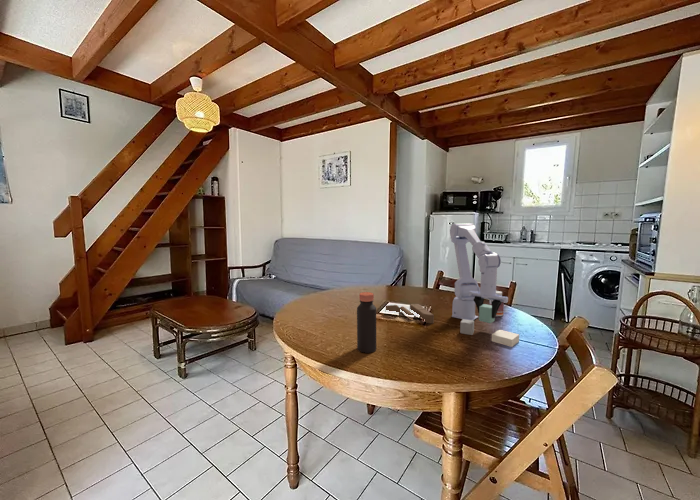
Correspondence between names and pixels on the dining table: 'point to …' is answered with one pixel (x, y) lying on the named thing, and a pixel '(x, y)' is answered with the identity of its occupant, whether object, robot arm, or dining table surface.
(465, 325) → the grey block
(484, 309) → the teal block
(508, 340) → the cream slab
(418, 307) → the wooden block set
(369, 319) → the vinegar
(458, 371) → the dining table surface
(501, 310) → the pill bottle
